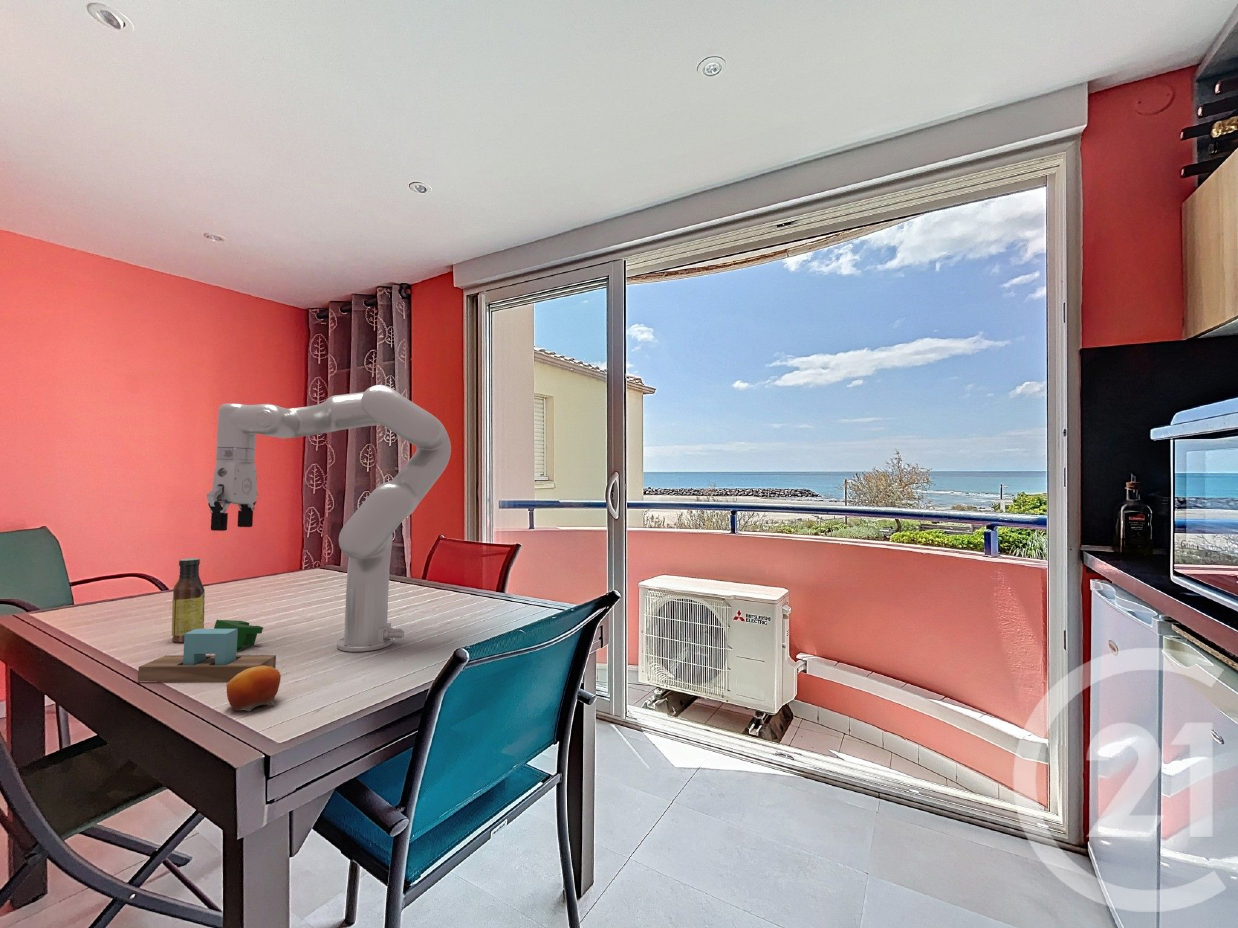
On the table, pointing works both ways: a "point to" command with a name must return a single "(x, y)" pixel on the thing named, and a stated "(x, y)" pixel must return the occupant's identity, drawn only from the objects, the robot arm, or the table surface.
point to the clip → (210, 646)
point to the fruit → (253, 687)
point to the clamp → (241, 631)
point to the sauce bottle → (187, 600)
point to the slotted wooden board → (200, 668)
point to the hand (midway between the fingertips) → (232, 528)
